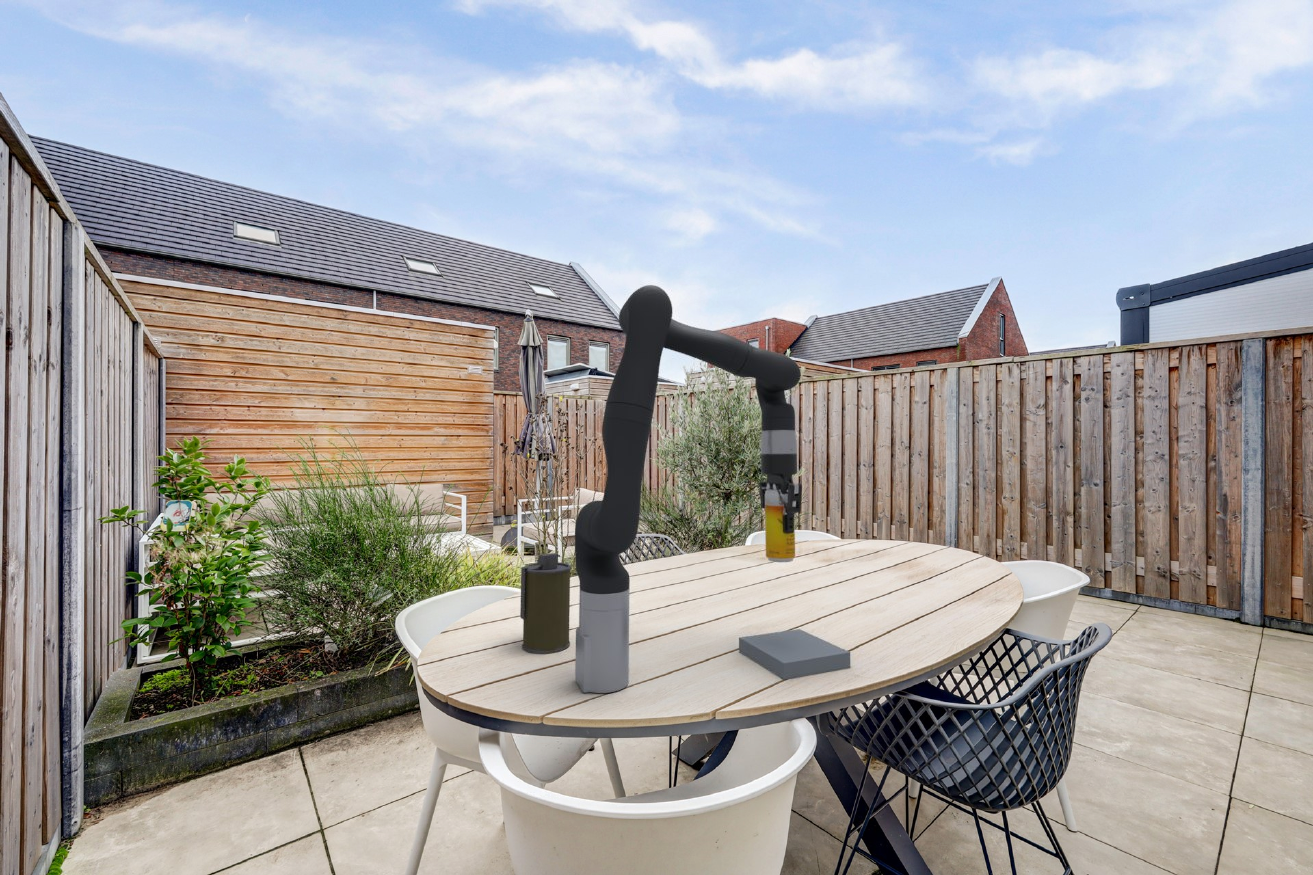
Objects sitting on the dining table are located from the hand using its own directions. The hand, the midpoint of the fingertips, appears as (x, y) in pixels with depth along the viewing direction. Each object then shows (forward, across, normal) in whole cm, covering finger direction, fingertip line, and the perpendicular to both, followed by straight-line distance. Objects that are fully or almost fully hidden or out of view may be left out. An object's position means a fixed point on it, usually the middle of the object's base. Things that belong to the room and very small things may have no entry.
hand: (780, 530), depth 113 cm
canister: (+26, +20, +47) cm, 58 cm away
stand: (+26, -2, -1) cm, 26 cm away
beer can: (+6, 0, 0) cm, 6 cm away
